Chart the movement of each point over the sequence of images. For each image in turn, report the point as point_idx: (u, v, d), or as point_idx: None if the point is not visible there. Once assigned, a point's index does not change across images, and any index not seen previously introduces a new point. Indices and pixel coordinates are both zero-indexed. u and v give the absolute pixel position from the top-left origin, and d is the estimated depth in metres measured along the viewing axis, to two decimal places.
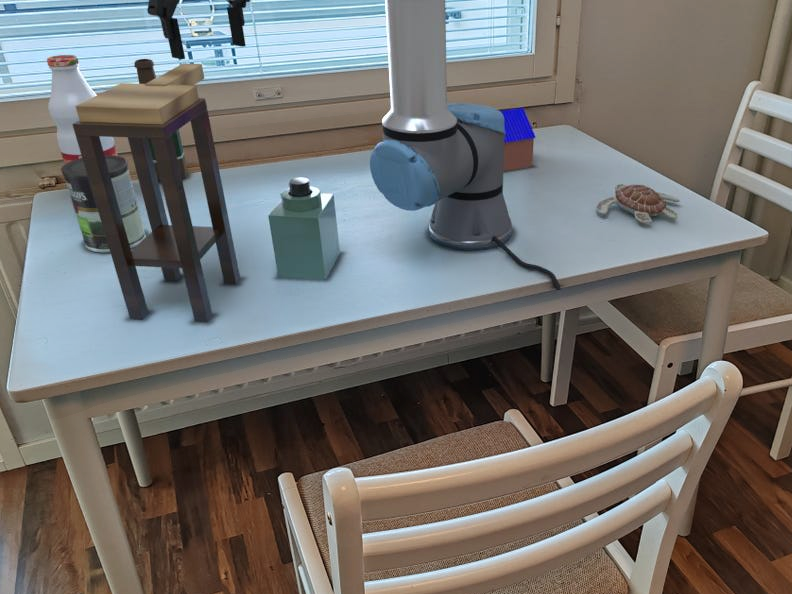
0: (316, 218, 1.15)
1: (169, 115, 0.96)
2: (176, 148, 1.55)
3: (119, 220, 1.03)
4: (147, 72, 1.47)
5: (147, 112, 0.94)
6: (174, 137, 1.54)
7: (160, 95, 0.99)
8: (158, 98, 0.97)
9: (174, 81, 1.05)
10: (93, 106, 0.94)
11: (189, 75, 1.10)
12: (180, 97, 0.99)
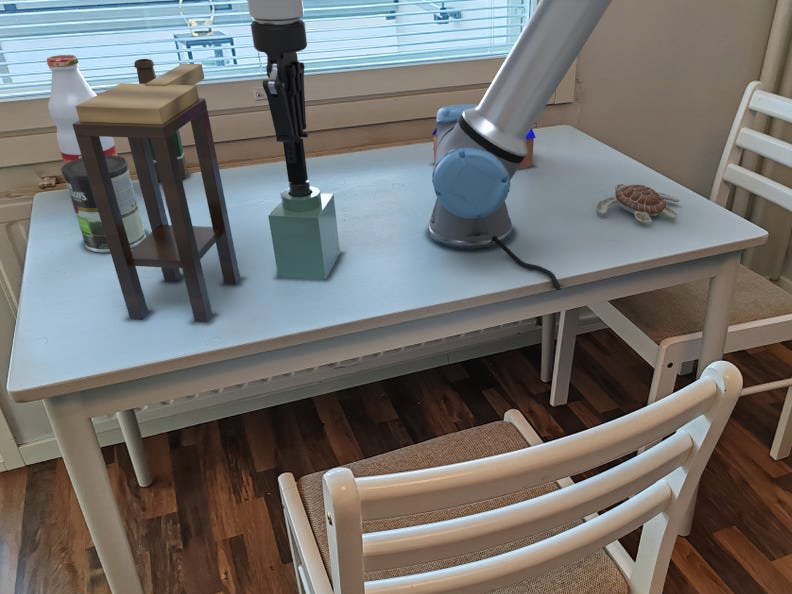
0: (316, 218, 1.15)
1: (169, 115, 0.96)
2: (176, 148, 1.55)
3: (119, 220, 1.03)
4: (147, 72, 1.47)
5: (147, 112, 0.94)
6: (174, 137, 1.54)
7: (160, 95, 0.99)
8: (158, 98, 0.97)
9: (174, 81, 1.05)
10: (93, 106, 0.94)
11: (189, 75, 1.10)
12: (180, 97, 0.99)
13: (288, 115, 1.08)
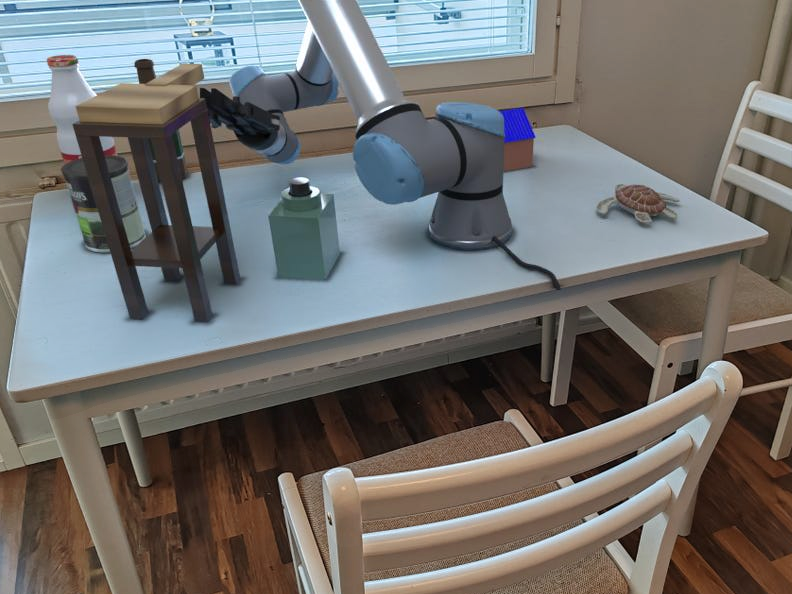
0: (316, 218, 1.15)
1: (169, 115, 0.96)
2: (176, 148, 1.55)
3: (119, 220, 1.03)
4: (147, 72, 1.47)
5: (147, 112, 0.94)
6: (174, 137, 1.54)
7: (160, 95, 0.99)
8: (158, 98, 0.97)
9: (174, 81, 1.05)
10: (93, 106, 0.94)
11: (189, 75, 1.10)
12: (180, 97, 0.99)
13: None
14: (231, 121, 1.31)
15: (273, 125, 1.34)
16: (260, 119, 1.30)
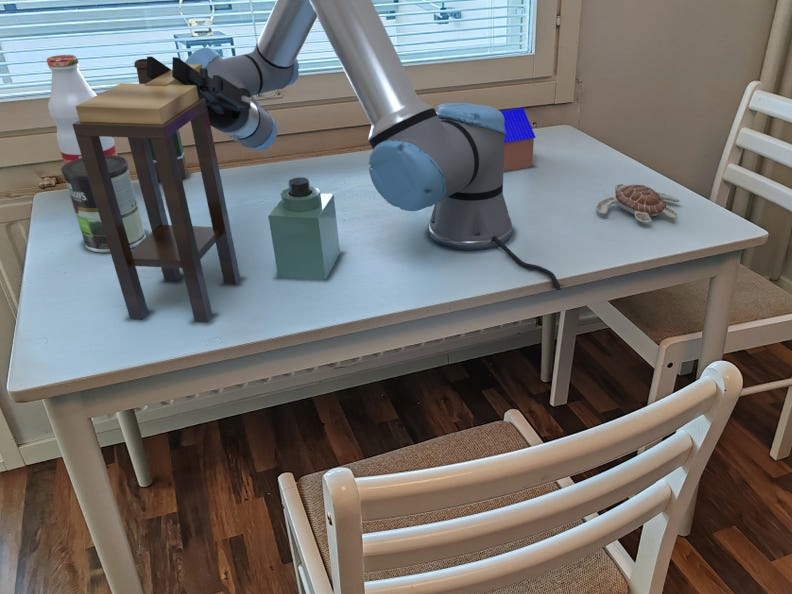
0: (316, 218, 1.15)
1: (169, 115, 0.96)
2: (176, 148, 1.55)
3: (119, 220, 1.03)
4: None
5: (147, 112, 0.94)
6: (174, 137, 1.54)
7: (160, 95, 0.99)
8: (158, 98, 0.97)
9: (174, 81, 1.05)
10: (93, 106, 0.94)
11: None
12: (180, 97, 0.99)
13: None
14: None
15: (244, 103, 1.19)
16: (230, 96, 1.15)
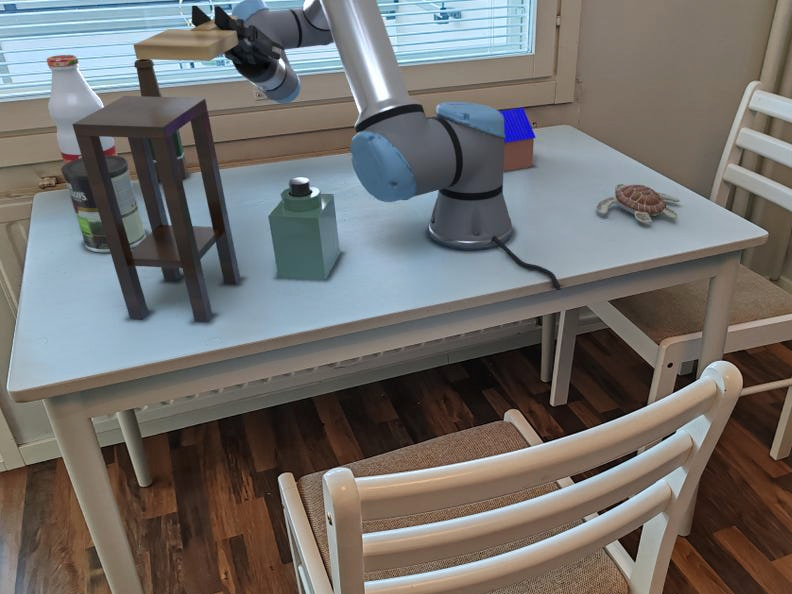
0: (316, 218, 1.15)
1: (215, 53, 1.09)
2: (176, 148, 1.55)
3: (119, 220, 1.03)
4: (147, 72, 1.47)
5: (197, 49, 1.06)
6: (174, 137, 1.54)
7: (206, 37, 1.11)
8: (205, 39, 1.10)
9: (216, 28, 1.18)
10: (149, 44, 1.07)
11: None
12: (224, 39, 1.12)
13: None
14: None
15: (274, 53, 1.32)
16: (263, 45, 1.28)
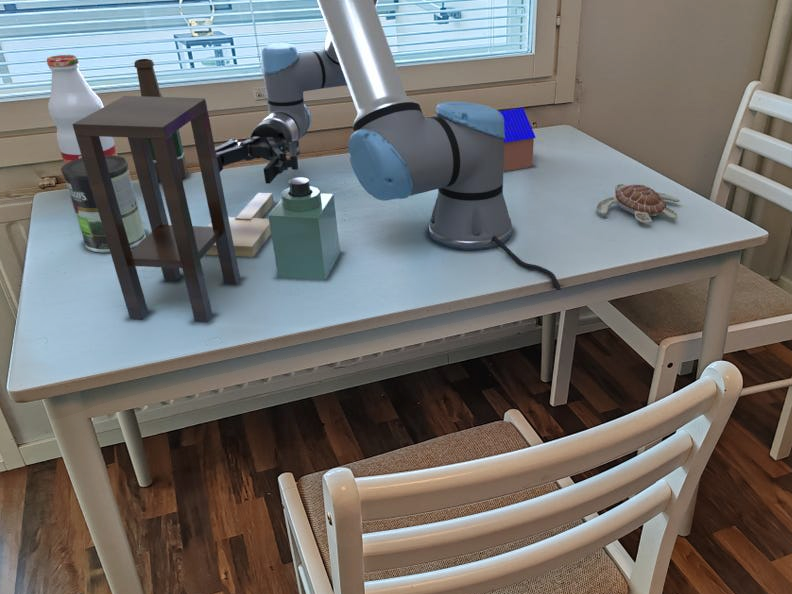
0: (316, 218, 1.15)
1: (257, 248, 1.30)
2: (176, 148, 1.55)
3: (119, 220, 1.03)
4: (147, 72, 1.47)
5: (243, 248, 1.28)
6: (174, 137, 1.54)
7: (249, 231, 1.32)
8: (248, 234, 1.31)
9: (256, 214, 1.39)
10: None
11: (265, 205, 1.43)
12: (264, 232, 1.33)
13: (219, 146, 1.42)
14: (240, 159, 1.43)
15: (297, 153, 1.45)
16: (297, 160, 1.42)
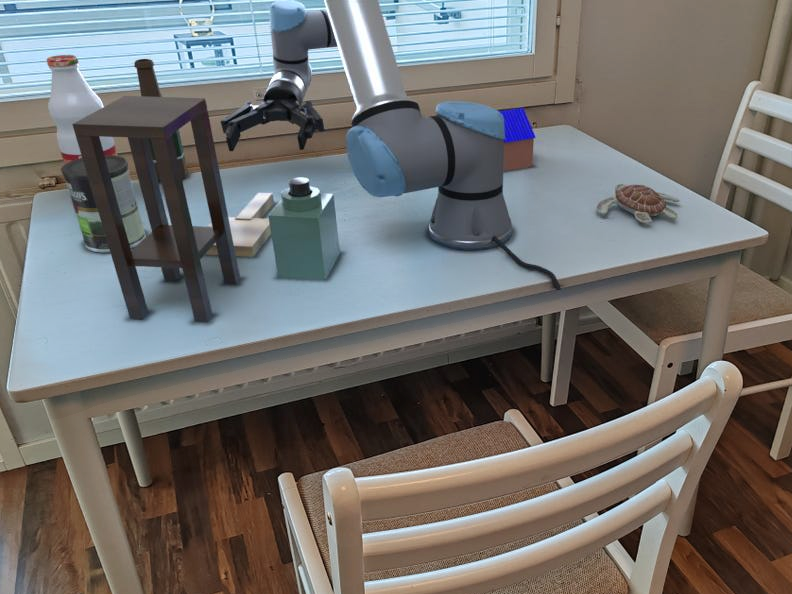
0: (316, 218, 1.15)
1: (257, 248, 1.30)
2: (176, 148, 1.55)
3: (119, 220, 1.03)
4: (147, 72, 1.47)
5: (243, 248, 1.28)
6: (174, 137, 1.54)
7: (249, 231, 1.32)
8: (248, 234, 1.31)
9: (256, 214, 1.39)
10: None
11: (265, 205, 1.43)
12: (264, 232, 1.33)
13: (234, 112, 1.49)
14: (256, 124, 1.50)
15: None
16: None
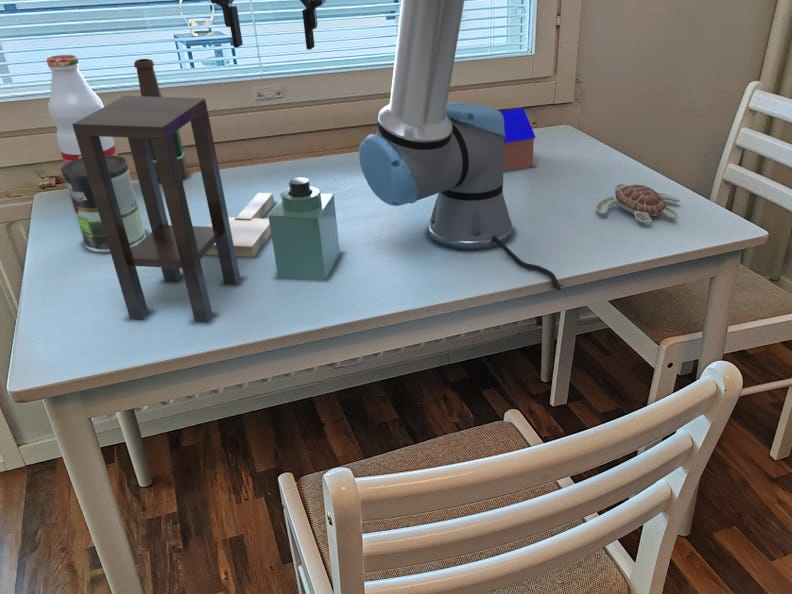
0: (316, 218, 1.15)
1: (257, 248, 1.30)
2: (176, 148, 1.55)
3: (119, 220, 1.03)
4: (147, 72, 1.47)
5: (243, 248, 1.28)
6: (174, 137, 1.54)
7: (249, 231, 1.32)
8: (248, 234, 1.31)
9: (256, 214, 1.39)
10: None
11: (265, 205, 1.43)
12: (264, 232, 1.33)
13: None
14: None
15: None
16: None
